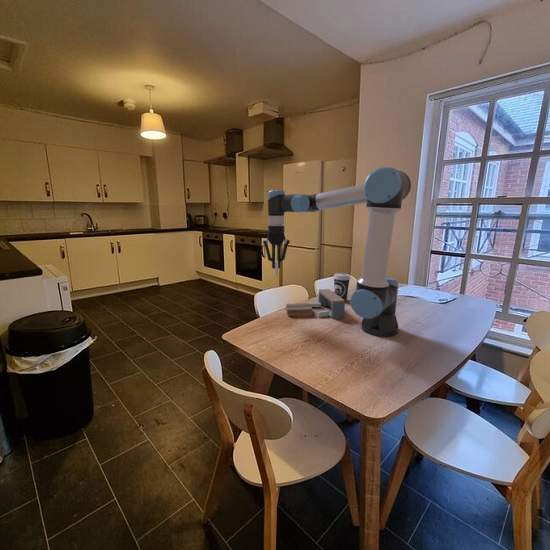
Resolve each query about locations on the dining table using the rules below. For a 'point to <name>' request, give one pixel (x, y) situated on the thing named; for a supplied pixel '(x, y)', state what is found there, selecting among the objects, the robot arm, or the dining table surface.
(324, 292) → the bridge shelf
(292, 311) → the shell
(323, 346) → the dining table surface
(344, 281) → the coffee cup
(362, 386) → the dining table surface
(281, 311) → the dining table surface
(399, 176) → the robot arm
